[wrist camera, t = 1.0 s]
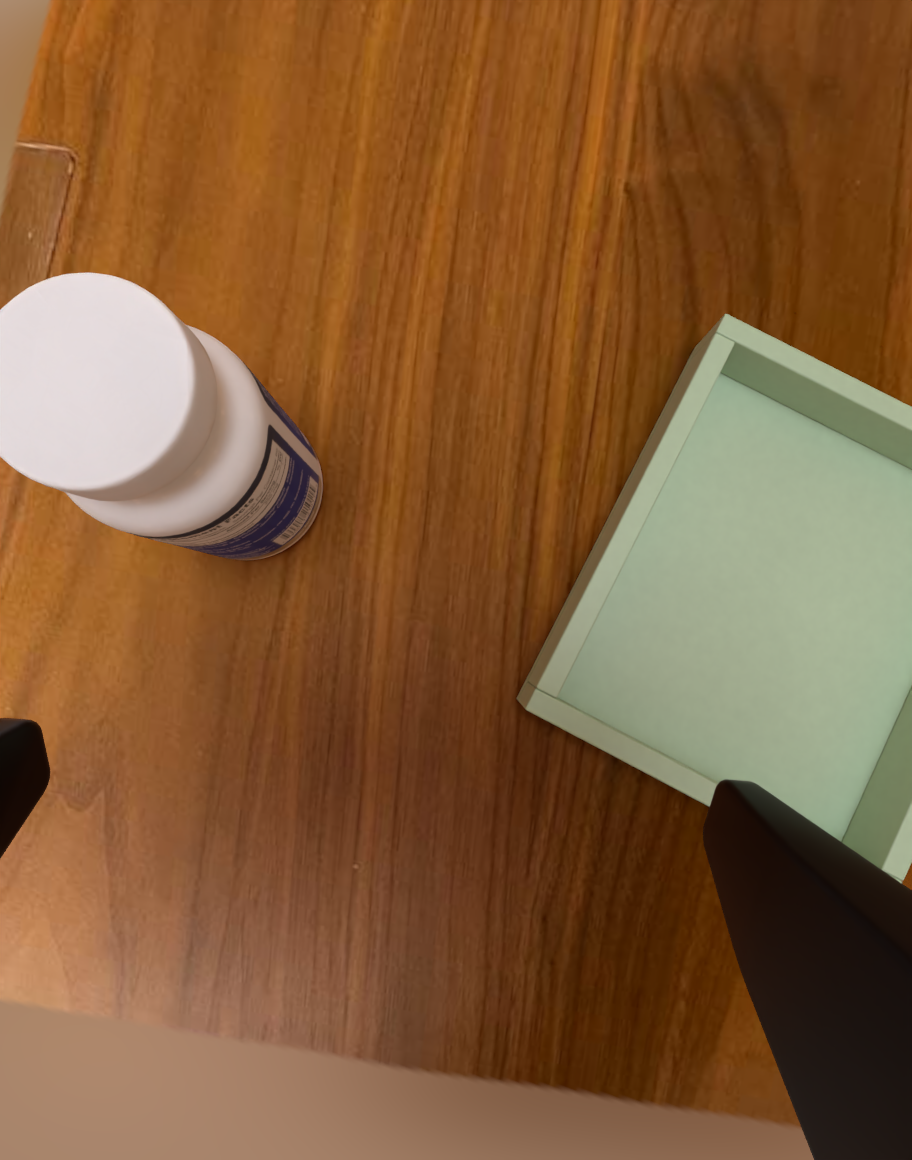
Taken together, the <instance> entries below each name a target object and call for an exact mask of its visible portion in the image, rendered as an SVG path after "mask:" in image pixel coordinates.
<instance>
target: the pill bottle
mask: <svg viewBox="0 0 912 1160" xmlns="http://www.w3.org/2000/svg"><path fill="white" fill-rule="evenodd" d="M0 456H1V457H2V458H3V459H4V460H5V461H6V462H7V463H8V464H9V465H10V466H12V467H13V468H14V469H16V470H17V471H18V472H20V473H21V474H23V475H25V476H26V477H28V478H30V479H32V480H34V481H36V482H39V483H41V484H43V485H46V486H49V487H52V488H55V489H58V490H60V491H63V492H65V493H66V494H67V495H68V496H69V497H70V499H71V500H72V501H73V502H74V503H75V504H76V505H78V506H79V507H80V508H81V509H82V510H83V511H85V512H86V513H88V514H89V515H90V516H92V517H93V518H95V519H97V520H98V521H100V522H102V523H104V524H106V525H108V526H111V527H113V528H115V529H118V530H121V531H124V532H127V533H130V534H134V535H137V536H140V537H145V538H148V539H153V540H156V541H160V542H164V543H169V544H173V545H177V546H181V547H184V548H188V549H192V550H196V551H200V552H204V553H207V554H212V555H216V556H219V557H224V558H228V559H235V560H257V559H263V558H266V557H270V556H273V555H275V554H278V553H280V552H282V551H284V550H285V549H287V548H289V547H290V546H292V545H293V544H294V543H295V542H297V541H298V540H299V539H300V538H301V537H302V536H303V535H304V534H305V533H306V532H307V530H308V529H309V528H310V526H311V525H312V523H313V521H314V519H315V517H316V515H317V513H318V510H319V507H320V504H321V499H322V492H323V478H322V471H321V467H320V463H319V460H318V458H317V455H316V453H315V451H314V449H313V447H312V446H311V444H310V442H309V441H308V440H307V438H306V437H305V436H304V434H303V433H302V432H301V431H300V429H299V428H298V427H297V426H296V425H295V423H294V422H293V421H292V420H291V419H290V418H289V416H288V415H287V414H286V413H285V412H284V410H283V409H282V408H281V407H280V406H279V405H278V403H277V402H276V401H275V400H274V399H273V397H272V396H271V395H270V394H269V393H268V391H267V390H266V389H265V388H264V386H263V385H262V384H261V383H260V382H259V380H258V379H257V378H256V377H255V376H254V374H253V373H252V372H251V371H250V370H249V368H248V367H247V366H246V365H245V364H244V363H243V362H242V361H241V360H240V359H239V358H238V356H237V355H235V354H234V353H233V352H232V351H231V350H230V349H229V348H228V347H227V346H225V345H224V344H223V343H221V342H220V341H218V340H217V339H215V338H214V337H212V336H210V335H209V334H207V333H205V332H203V331H200V330H198V329H196V328H194V327H191V326H188V325H185V324H184V323H183V322H182V321H181V320H180V319H179V318H178V317H177V316H176V315H175V314H174V313H173V312H172V311H171V310H170V309H169V308H168V307H167V306H166V305H165V304H164V303H163V302H161V301H160V300H159V299H158V298H157V297H155V296H154V295H152V294H151V293H150V292H148V291H147V290H145V289H144V288H142V287H140V286H138V285H136V284H134V283H132V282H129V281H127V280H124V279H122V278H118V277H115V276H111V275H106V274H98V273H73V274H65V275H60V276H56V277H52V278H49V279H47V280H44V281H42V282H39V283H37V284H35V285H33V286H31V287H29V288H27V289H26V290H24V291H23V292H21V293H20V294H19V295H17V296H16V297H14V298H13V299H12V300H11V301H10V302H9V303H7V304H6V305H5V306H4V307H3V308H2V309H1V310H0Z"/></svg>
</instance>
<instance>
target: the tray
mask: <svg viewBox="0 0 912 1160" xmlns="http://www.w3.org/2000/svg"><path fill="white" fill-rule="evenodd" d="M517 700H518V701H519V702H520V704H521V705H522V706H523V707H524V708H525V709H526V710H527V711H529V712H531V713H532V714H534V715H536V716H538V717H540V718H542V719H544V720H546V721H548V722H550V723H551V724H553V725H555V726H557V727H559V728H561V729H563V730H565V731H567V732H568V733H570V734H572V735H574V736H576V737H578V738H580V739H582V740H584V741H586V742H587V743H589V744H591V745H593V746H595V747H597V748H599V749H601V750H603V751H604V752H606V753H608V754H610V755H612V756H614V757H616V758H618V759H620V760H621V761H623V762H625V763H627V764H629V765H631V766H633V767H635V768H637V769H639V770H640V771H642V772H644V773H646V774H648V775H650V776H652V777H654V778H656V779H657V780H659V781H661V782H663V783H665V784H667V785H669V786H671V787H673V788H675V789H676V790H678V791H680V792H682V793H684V794H686V795H688V796H690V797H692V798H693V799H695V800H697V801H699V802H701V803H703V804H705V805H707V806H709V807H710V804H711V801H712V798H713V794H714V791H715V788H716V786H717V784H718V783H719V782H720V781H722V780H724V779H730V780H742V781H751V782H754V783H756V784H758V785H759V786H761V787H762V788H763V789H765V790H766V791H768V792H769V793H771V794H772V795H774V796H775V797H777V798H778V799H779V800H781V801H782V802H784V803H785V804H787V805H788V806H790V807H791V808H793V809H794V810H795V811H797V812H798V813H800V814H801V815H803V816H804V817H806V818H807V819H809V820H810V821H811V822H813V823H814V824H816V825H817V826H819V827H820V828H822V829H823V830H825V831H826V832H827V833H829V834H830V835H832V836H833V837H835V838H836V839H838V840H839V841H841V842H842V843H843V844H845V845H846V846H848V847H849V848H851V849H852V850H854V851H855V852H857V853H858V854H859V855H861V856H862V857H864V858H865V859H867V860H868V861H870V862H871V863H873V864H874V865H875V866H877V867H878V868H880V869H881V870H883V871H884V872H886V873H887V874H889V875H890V876H891V877H893V878H894V879H896V880H897V881H899V882H900V883H902V881H901V880H904V878H905V876H906V874H907V872H908V869H909V867H910V865H911V862H912V407H911V406H909V405H907V404H905V403H903V402H901V401H899V400H897V399H895V398H893V397H891V396H889V395H887V394H885V393H883V392H881V391H879V390H877V389H875V388H873V387H871V386H869V385H867V384H865V383H863V382H861V381H859V380H857V379H855V378H853V377H851V376H849V375H847V374H845V373H843V372H841V371H839V370H837V369H835V368H833V367H831V366H829V365H827V364H825V363H823V362H821V361H819V360H817V359H815V358H813V357H811V356H809V355H807V354H805V353H803V352H801V351H799V350H797V349H796V348H794V347H792V346H790V345H788V344H786V343H784V342H782V341H780V340H778V339H776V338H774V337H772V336H770V335H768V334H766V333H764V332H762V331H760V330H758V329H756V328H754V327H752V326H750V325H748V324H746V323H744V322H742V321H740V320H738V319H736V318H734V317H732V316H730V315H728V314H725V315H724V316H723V317H722V318H721V319H720V320H719V321H718V322H717V323H716V324H715V326H714V327H713V328H712V329H711V330H710V331H709V332H708V333H707V334H706V336H705V337H704V338H703V339H702V340H701V341H700V342H699V343H698V344H697V345H696V347H695V348H694V350H693V352H692V354H691V356H690V357H689V359H688V361H687V363H686V365H685V367H684V369H683V371H682V373H681V375H680V377H679V379H678V381H677V383H676V385H675V387H674V389H673V391H672V393H671V395H670V397H669V399H668V401H667V403H666V405H665V407H664V409H663V411H662V413H661V415H660V417H659V419H658V420H657V422H656V424H655V426H654V428H653V430H652V432H651V434H650V436H649V438H648V440H647V442H646V444H645V446H644V448H643V450H642V452H641V454H640V456H639V458H638V460H637V462H636V464H635V466H634V468H633V470H632V472H631V474H630V476H629V478H628V480H627V482H626V483H625V485H624V487H623V489H622V491H621V493H620V495H619V497H618V499H617V501H616V503H615V505H614V507H613V509H612V511H611V513H610V515H609V517H608V519H607V521H606V523H605V525H604V527H603V529H602V531H601V533H600V535H599V537H598V539H597V541H596V543H595V544H594V546H593V548H592V550H591V552H590V554H589V556H588V558H587V560H586V562H585V564H584V566H583V568H582V570H581V572H580V574H579V576H578V578H577V580H576V582H575V584H574V586H573V588H572V590H571V592H570V594H569V596H568V598H567V600H566V602H565V604H564V606H563V607H562V609H561V611H560V613H559V615H558V617H557V619H556V621H555V623H554V625H553V627H552V629H551V631H550V633H549V635H548V637H547V639H546V641H545V643H544V645H543V647H542V649H541V651H540V653H539V655H538V657H537V659H536V661H535V663H534V665H533V667H532V669H531V670H530V672H529V674H528V676H527V678H526V680H525V682H524V684H523V686H522V688H521V690H520V692H519V694H518V696H517Z"/></svg>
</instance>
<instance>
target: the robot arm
mask: <svg viewBox="0 0 912 1160" xmlns="http://www.w3.org/2000/svg"><path fill="white" fill-rule="evenodd" d="M49 779H50V767H49V762H48V757H47V753H46V748H45V743H44V739H43V734H42V730H41V727H40V726H39V725H38V724H37V723H36V722H34V721H32V720H25V719H13V718H0V858H1V857H2V855H3V854H4V852H5V851H6V849H7V848H8V846H9V845H10V843H11V842H12V840H13V839H14V837H15V836H16V834H17V833H18V831H19V830H20V828H21V827H22V825H23V823H24V822H25V820H26V819H27V817H28V816H29V814H30V813H31V811H32V810H33V808H34V807H35V805H36V804H37V802H38V801H39V799H40V798H41V796H42V795H43V793H44V791H45V790H46V788H47V785H48V782H49ZM703 841H704V847H705V850H706V854H707V857H708V861H709V864H710V868H711V871H712V875H713V878H714V882H715V885H716V889H717V892H718V896H719V899H720V903H721V906H722V910H723V913H724V917H725V920H726V924H727V927H728V931H729V934H730V938H731V941H732V945H733V948H734V951H735V954H736V957H737V961H738V964H739V967H740V970H741V973H742V975H743V978H744V981H745V983H746V986H747V989H748V992H749V994H750V997H751V999H752V1002H753V1004H754V1007H755V1009H756V1012H757V1015H758V1017H759V1020H760V1022H761V1025H762V1027H763V1030H764V1032H765V1035H766V1038H767V1040H768V1043H769V1045H770V1048H771V1050H772V1053H773V1055H774V1058H775V1061H776V1063H777V1066H778V1068H779V1071H780V1073H781V1076H782V1078H783V1081H784V1084H785V1086H786V1089H787V1091H788V1094H789V1096H790V1099H791V1101H792V1104H793V1107H794V1109H795V1112H796V1114H797V1117H798V1119H799V1122H800V1124H801V1127H802V1130H803V1132H804V1135H805V1137H806V1140H807V1142H808V1145H809V1147H810V1150H811V1153H812V1155H813V1158H814V1160H912V890H910V889H909V888H907V887H906V886H905V885H903V884H902V883H900V882H899V881H897V880H896V879H894V878H893V877H891V876H890V875H889V874H887V873H886V872H884V871H883V870H881V869H880V868H878V867H877V866H875V865H874V864H873V863H871V862H870V861H868V860H867V859H865V858H864V857H862V856H861V855H859V854H858V853H857V852H855V851H854V850H852V849H851V848H849V847H848V846H846V845H845V844H843V843H842V842H841V841H839V840H838V839H836V838H835V837H833V836H832V835H830V834H829V833H827V832H826V831H825V830H823V829H822V828H820V827H819V826H817V825H816V824H814V823H813V822H811V821H810V820H809V819H807V818H806V817H804V816H803V815H801V814H800V813H798V812H797V811H795V810H794V809H793V808H791V807H790V806H788V805H787V804H785V803H784V802H782V801H781V800H779V799H778V798H777V797H775V796H774V795H772V794H771V793H769V792H768V791H766V790H765V789H763V788H762V787H761V786H759V785H758V784H756V783H754V782H751V781H742V780H730V779H724V780H722V781H720V782H719V783H718V784H717V786H716V788H715V791H714V794H713V798H712V801H711V804H710V807H709V811H708V814H707V817H706V820H705V824H704V828H703Z"/></svg>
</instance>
